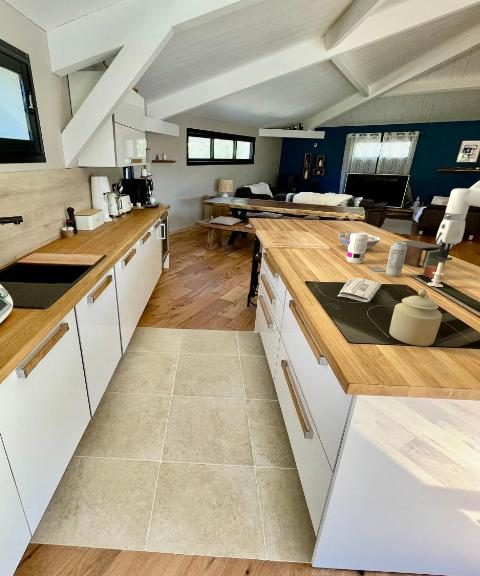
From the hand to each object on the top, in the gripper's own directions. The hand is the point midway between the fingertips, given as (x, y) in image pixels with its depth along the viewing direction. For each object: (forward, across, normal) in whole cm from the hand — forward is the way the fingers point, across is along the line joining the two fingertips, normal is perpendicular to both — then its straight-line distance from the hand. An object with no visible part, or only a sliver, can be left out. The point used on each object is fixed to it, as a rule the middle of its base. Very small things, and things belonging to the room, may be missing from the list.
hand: (442, 257), depth 146 cm
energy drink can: (+7, -27, 0) cm, 28 cm away
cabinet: (+6, 0, +14) cm, 15 cm away
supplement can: (+7, -28, +22) cm, 37 cm away
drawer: (+6, 0, +7) cm, 9 cm away
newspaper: (+7, -56, -13) cm, 57 cm away
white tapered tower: (+7, -21, -16) cm, 28 cm away
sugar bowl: (+7, -66, -46) cm, 81 cm away
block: (+6, -13, -7) cm, 16 cm away
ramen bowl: (+7, -7, +46) cm, 47 cm away
